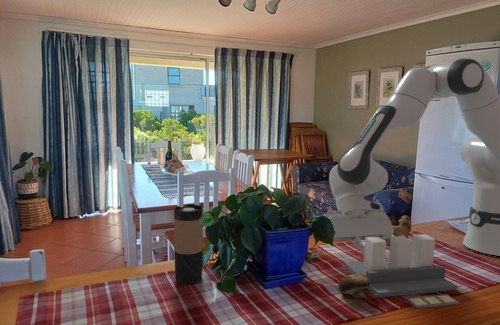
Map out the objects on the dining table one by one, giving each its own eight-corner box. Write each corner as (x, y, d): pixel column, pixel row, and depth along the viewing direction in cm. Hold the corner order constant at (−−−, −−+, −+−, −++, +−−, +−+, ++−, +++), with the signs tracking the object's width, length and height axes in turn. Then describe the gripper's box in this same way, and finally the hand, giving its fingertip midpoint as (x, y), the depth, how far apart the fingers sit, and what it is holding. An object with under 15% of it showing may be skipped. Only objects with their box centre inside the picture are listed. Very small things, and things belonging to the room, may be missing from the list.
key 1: (375, 270, 98) (378, 236, 97) (383, 276, 94) (386, 241, 93) (362, 271, 97) (365, 237, 96) (370, 277, 93) (372, 242, 92)
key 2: (422, 267, 101) (425, 234, 100) (431, 273, 97) (435, 239, 96) (410, 267, 100) (413, 234, 99) (419, 274, 96) (422, 239, 95)
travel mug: (197, 287, 90) (197, 212, 87) (169, 283, 91) (168, 210, 88) (206, 274, 97) (206, 205, 94) (181, 271, 98) (180, 203, 96)
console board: (412, 261, 108) (413, 249, 108) (456, 290, 91) (458, 275, 90) (344, 266, 104) (345, 253, 103) (377, 297, 86) (378, 281, 86)
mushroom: (378, 294, 82) (366, 268, 84) (346, 305, 82) (335, 279, 85) (373, 294, 89) (363, 270, 91) (344, 305, 89) (334, 280, 92)
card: (446, 295, 88) (447, 293, 88) (460, 304, 84) (460, 302, 84) (405, 298, 86) (405, 297, 86) (416, 308, 82) (417, 307, 82)
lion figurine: (399, 235, 132) (400, 213, 131) (413, 239, 129) (415, 216, 127) (381, 245, 122) (383, 220, 121) (396, 249, 118) (398, 224, 117)
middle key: (400, 269, 99) (403, 236, 98) (409, 275, 95) (412, 241, 94) (387, 270, 98) (390, 236, 97) (396, 276, 94) (399, 241, 93)
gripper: (325, 206, 103) (337, 250, 94) (386, 204, 107) (404, 246, 98) (318, 217, 107) (330, 259, 99) (377, 214, 111) (393, 255, 103)
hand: (367, 253), depth 99 cm, fingers closed
